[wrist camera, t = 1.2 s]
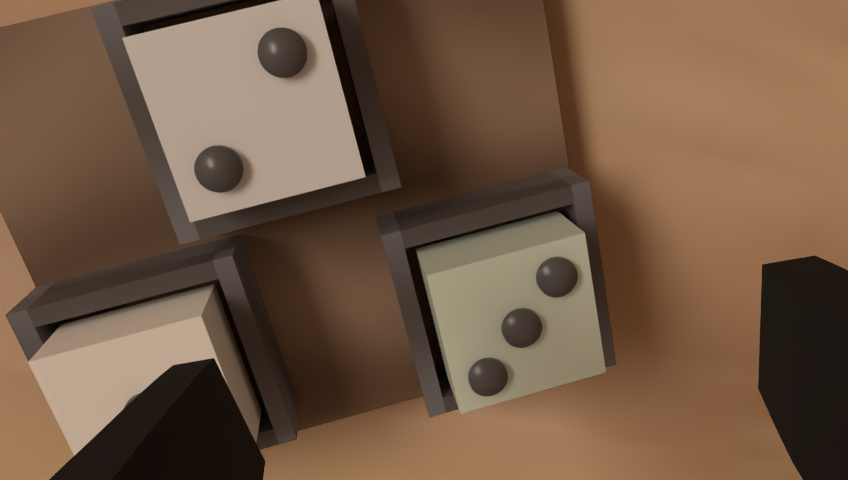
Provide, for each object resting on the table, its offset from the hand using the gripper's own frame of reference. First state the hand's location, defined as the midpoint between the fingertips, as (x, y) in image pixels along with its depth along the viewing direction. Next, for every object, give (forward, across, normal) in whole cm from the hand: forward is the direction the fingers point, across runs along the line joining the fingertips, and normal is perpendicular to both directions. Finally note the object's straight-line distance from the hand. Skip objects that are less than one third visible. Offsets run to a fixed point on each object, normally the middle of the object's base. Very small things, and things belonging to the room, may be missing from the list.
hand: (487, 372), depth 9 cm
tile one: (+7, +9, +4) cm, 12 cm away
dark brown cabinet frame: (+10, +5, +2) cm, 12 cm away
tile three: (+8, 0, +5) cm, 10 cm away
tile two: (+9, +5, -2) cm, 10 cm away
